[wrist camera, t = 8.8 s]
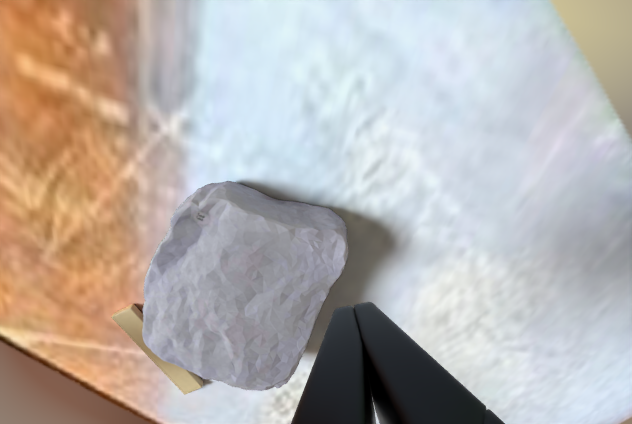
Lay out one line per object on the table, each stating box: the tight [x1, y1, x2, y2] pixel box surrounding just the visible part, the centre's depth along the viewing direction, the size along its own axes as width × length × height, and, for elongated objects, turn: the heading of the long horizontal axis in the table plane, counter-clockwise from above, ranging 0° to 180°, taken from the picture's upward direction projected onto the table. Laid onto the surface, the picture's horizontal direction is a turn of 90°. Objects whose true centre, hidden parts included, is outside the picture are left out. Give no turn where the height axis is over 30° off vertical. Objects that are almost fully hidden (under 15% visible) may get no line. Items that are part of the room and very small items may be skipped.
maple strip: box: [112, 304, 203, 394], centre depth 24 cm, size 8×2×1 cm, turn 27°
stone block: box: [142, 181, 349, 391], centre depth 20 cm, size 12×5×10 cm
